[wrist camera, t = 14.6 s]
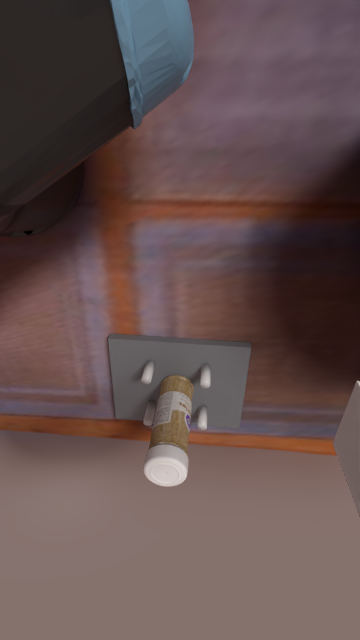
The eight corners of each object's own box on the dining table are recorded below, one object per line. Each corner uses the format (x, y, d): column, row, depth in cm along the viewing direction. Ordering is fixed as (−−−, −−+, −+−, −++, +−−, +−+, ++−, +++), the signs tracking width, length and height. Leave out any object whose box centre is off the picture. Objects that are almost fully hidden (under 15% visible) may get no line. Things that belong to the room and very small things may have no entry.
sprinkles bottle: (199, 391, 47) (195, 481, 35) (171, 403, 48) (158, 492, 37) (182, 368, 45) (171, 454, 33) (153, 380, 46) (133, 467, 35)
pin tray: (117, 412, 52) (109, 437, 48) (110, 333, 45) (100, 354, 41) (238, 422, 51) (240, 448, 46) (250, 342, 44) (254, 365, 39)
